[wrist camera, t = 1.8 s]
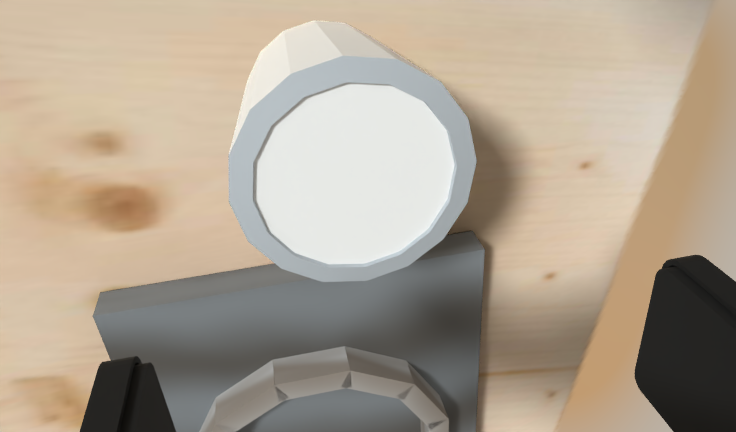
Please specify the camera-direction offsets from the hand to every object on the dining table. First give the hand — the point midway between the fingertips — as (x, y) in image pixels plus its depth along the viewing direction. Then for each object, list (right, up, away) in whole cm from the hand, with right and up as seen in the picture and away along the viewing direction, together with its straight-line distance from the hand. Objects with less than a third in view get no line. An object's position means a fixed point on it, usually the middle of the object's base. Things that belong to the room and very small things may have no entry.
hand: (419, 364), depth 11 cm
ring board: (-3, -8, +19) cm, 21 cm away
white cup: (-3, +7, +11) cm, 14 cm away
